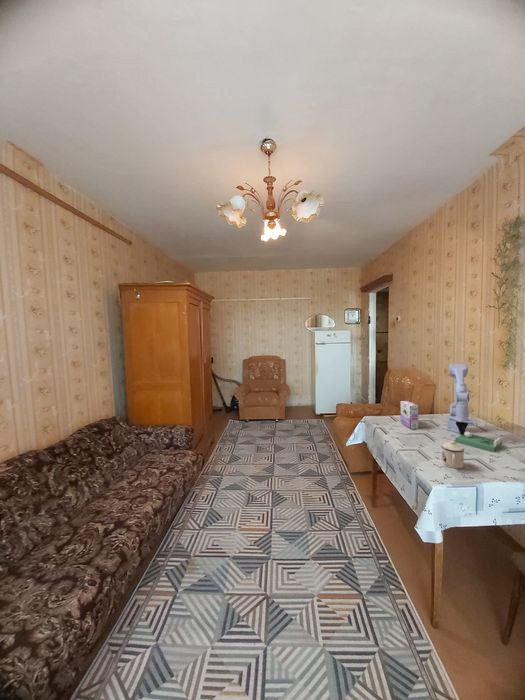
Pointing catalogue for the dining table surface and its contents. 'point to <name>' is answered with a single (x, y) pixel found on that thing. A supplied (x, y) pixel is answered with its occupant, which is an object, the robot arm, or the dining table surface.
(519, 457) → the dining table surface
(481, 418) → the dining table surface
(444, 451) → the teacup with lid
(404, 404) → the candy box
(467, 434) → the ball
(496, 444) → the green
